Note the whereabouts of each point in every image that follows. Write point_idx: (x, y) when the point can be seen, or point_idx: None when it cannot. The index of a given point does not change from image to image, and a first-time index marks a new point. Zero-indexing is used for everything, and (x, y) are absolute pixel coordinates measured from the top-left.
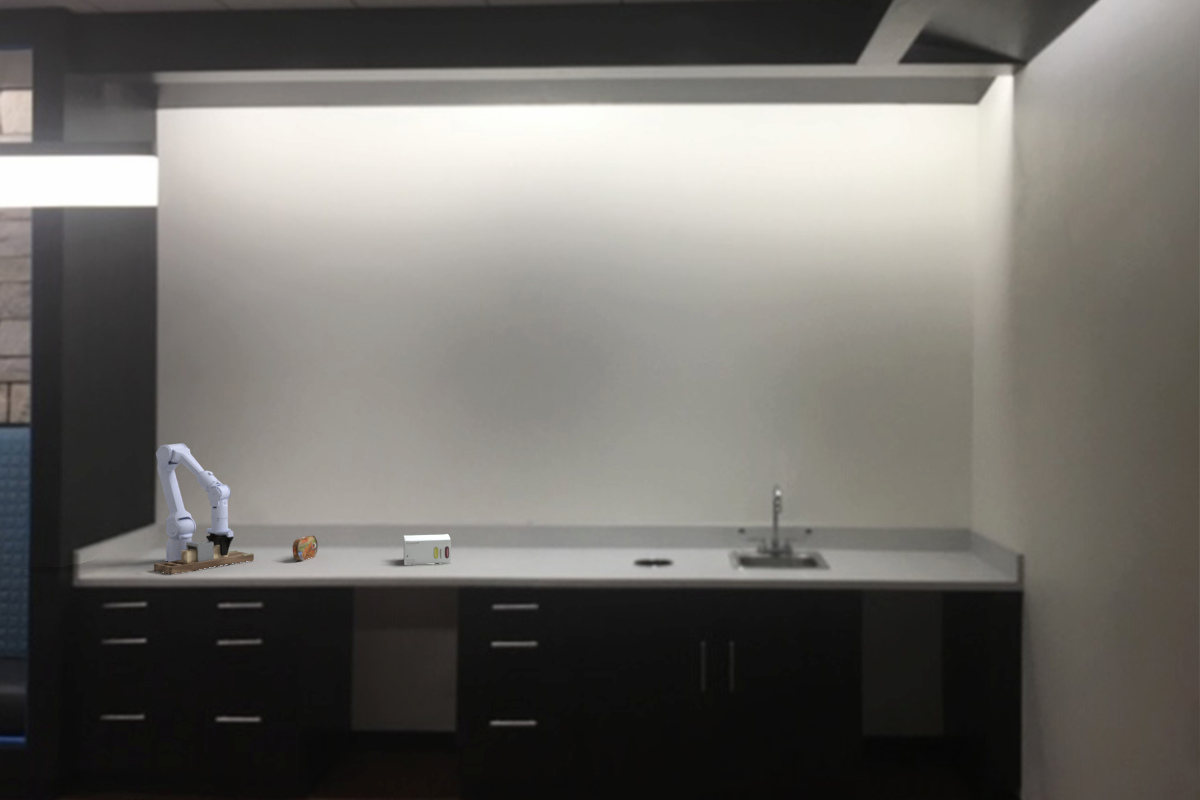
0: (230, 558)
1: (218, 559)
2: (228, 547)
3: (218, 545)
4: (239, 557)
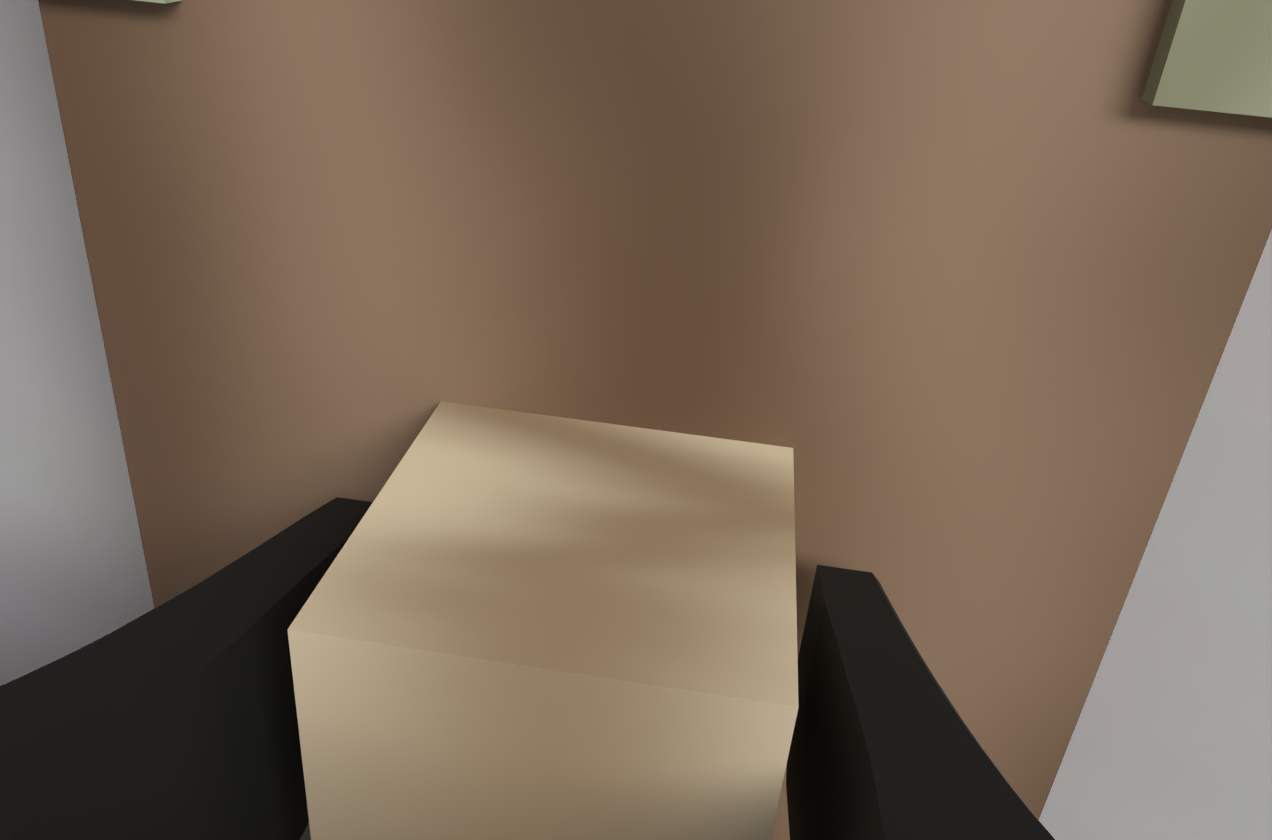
0: (1118, 604)
1: None
2: (967, 762)
3: (397, 811)
4: (1228, 306)
